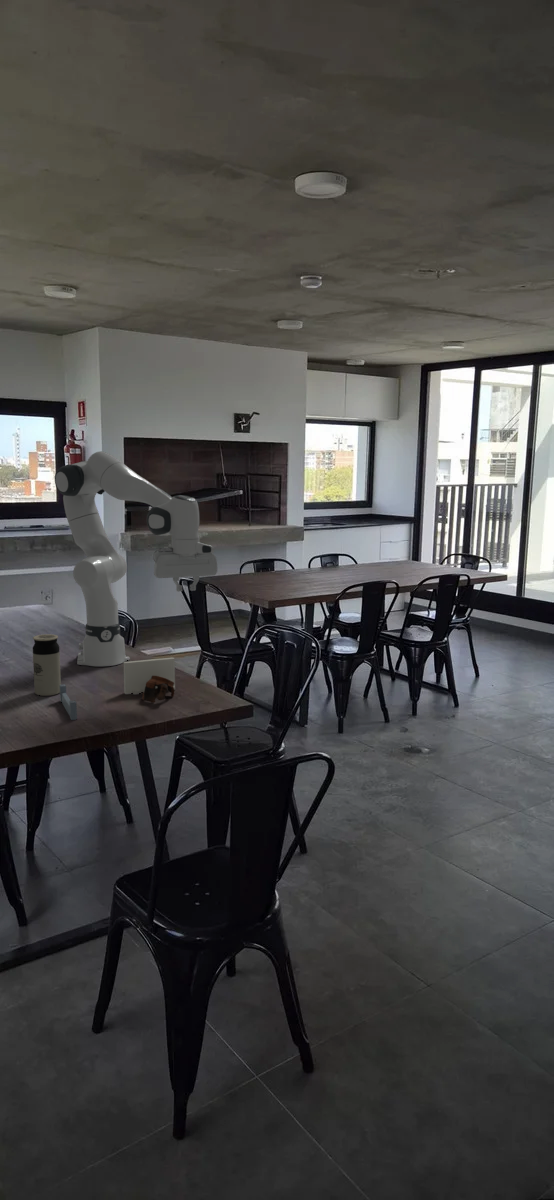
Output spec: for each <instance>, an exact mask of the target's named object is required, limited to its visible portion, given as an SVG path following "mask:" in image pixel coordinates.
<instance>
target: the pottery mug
mask: <svg viewBox="0 0 554 1200" xmlns="http://www.w3.org/2000/svg"><path fill="white" fill-rule="evenodd" d="M173 685H174V682H172V681H170V680H168V679H166V678H163V677H160V676H152V677H151V679H150V680H149V681H148V682H146V686H145V691H144V692H143V693H142V698H141V700H143V701H146V702H150V703H153V702H156V699H157V700H158V701H164V700H165V697H166V695H167V693H168V692H170V693H171V695H170V696H171V698H173V697H174V695H175V690H174V687H173ZM155 686H157V687H158V688H155Z"/></svg>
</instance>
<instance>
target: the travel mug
mask: <svg viewBox="0 0 554 1200" xmlns="http://www.w3.org/2000/svg"><path fill="white" fill-rule="evenodd" d="M32 639H33V641H34V645H33V646H32V661H33V663H32V665H33V680H34V681H33V683H34V684H33V685H34V694H35V695H37V696H39V695H40V696H41V697H49V696H50V697H51V696H55V695H58V694H60V685H62V682H61V657H60V654H61V653H60V644H59V642H58V639H59V635H57V634H53V633H52V634H50V633H49V634H48V633H47V634H37V635H35V636H33V637H32Z"/></svg>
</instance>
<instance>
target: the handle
mask: <svg viewBox="0 0 554 1200" xmlns="http://www.w3.org/2000/svg"><path fill="white" fill-rule="evenodd" d="M59 700H60V701H59V702H60V703H61V702H62V703H61V704H62V705H63V707H64V709H65V711H66V713H67V714H68V716H69V719H70V720H71V721H76V719H77V720H78V710H77V709H78V708H77V701H76V700H71V699H70V697H69V695H68V694H67V685H66V684H65V683H63V684H62V683H61V685H60V693H59Z"/></svg>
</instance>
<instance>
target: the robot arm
mask: <svg viewBox="0 0 554 1200" xmlns="http://www.w3.org/2000/svg"><path fill="white" fill-rule="evenodd" d="M54 484H55V487H56V489H57V490H58V492H59V493H60V494H61V495H63V497H62V499H63V506H64V512H65V516H66V519H67V522H68V523H67V524H68V526H69V529H70V532H71V535H72V537H73V538H72V539H73V541H74V544H75V545H76V546H77V547H79V548H80V549H81V550H82V551H83V552H84V554H85V555H86V557H85V558H83V559H81V560H80V561H78V562H77V563H76V564H75V566H74V567H73V569H72V570H73V571H72V572H73V573H72V575H73V579H74V582H75V583H76V584H77V585H78V586H79V587H80V588H81V589H80V590H81V591H82V595H83V597H84V601H85V609H86V611H85V612H86V613H85V614H86V624H85V636H84V639H83V640H82V642H80V643H78V650H79V651H80V652H78V653H77V662H76V663H77V664H76V665H81V666H87V667H88V666H90V667H110V666H111V667H112V666H116V665H117V666H118V665H120V664H124V662H128V661H131V660H130V659H131V657H130V656H129V655H126V648H125V647H126V645H125V638H124V637H123V636H122V635H121V625H120V623H119V604H118V603H119V602H118V600H117V599H116V598H115V597H114V595H113V592H112V588H111V584H113V583H116V582H118V581H119V580H121V579H122V578H123V577H124V576H125V575H126V573H127V570H128V565H127V564H128V563H127V561H126V559H125V558H124V557H123V556H122V554H120V553H118V551H117V550H116V549H115V547H114V545H113V544H112V542H111V541H110V539H109V537H108V535H107V533H106V530H105V527H104V525H103V523H102V518H101V515H100V513H99V511H98V507H97V505H96V501H95V498H96V495H101V496H102V495H103V494H104V493H106V494H108V495H109V496H111V497H113V498H115V499H116V500H120V501H127V502H138V503H144V504H147V505H149V506H151V507H152V508H150V509H149V511H148V513H147V516H146V524H147V526H146V527H148V530H149V531H150V532H151V533H152V534H153V535H156V536H163V537H164V536H171V547H167V548H161V547H160V548H158V549H157V550H155V551H154V552H153V560H154V561H153V562H154V566H153V575H154V576H155V577H156V578H157V579H171V578H172V581H173V583H174V585H175V586H176V589H175V590H176V592H183V585H181V584H179V581H180V578H188V577H189V578H191V577H192V579H193V581H192V583H191V584H189V591H192V592H193V591H196V590H197V584H198V582H199V581H200V577H209V576H216V575H217V573H218V560H217V557H216V554H214V553H215V547H214V546H212V545H210V544H206V543H205V542H203V541H201V542H200V540H201V539H200V533H199V526H200V509H199V504H198V501H197V499H196V498H195V497H192V496H189V495H181V494H179V495H174V496H171V495H170V494H169V493H167V492H165V491H164V490H163V489H161V488H159V487H158V486H156V485H155V484H153V483H152V482H151V481H148V479H145V478H144V477H142V476H141V475H139V474H137V473H136V472H135V471H134V470H132V469H131V468H130V467H128V466H127V465H126V464H125V463H123V461H121V460H120V459H118V458H117V457H115V456H114V455H111V454H110V453H108V452H105V451H96V452H93V453H92V454H91V455H90V456H89V458H88V459H87V460H82V461H80V462H76V463H72V464H66V465H63V466H61V467H59V468H58V469H57V470H56V472H55V473H54ZM127 660H128V661H127Z"/></svg>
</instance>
